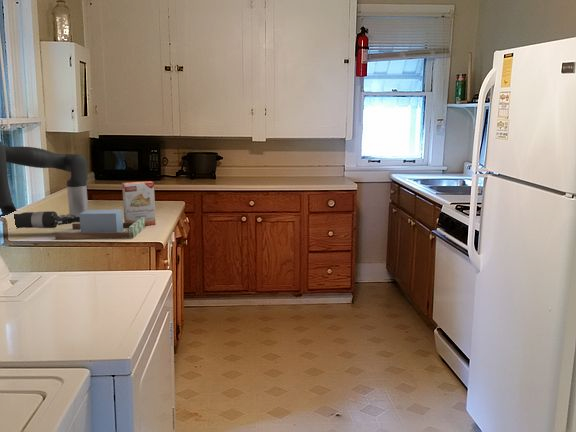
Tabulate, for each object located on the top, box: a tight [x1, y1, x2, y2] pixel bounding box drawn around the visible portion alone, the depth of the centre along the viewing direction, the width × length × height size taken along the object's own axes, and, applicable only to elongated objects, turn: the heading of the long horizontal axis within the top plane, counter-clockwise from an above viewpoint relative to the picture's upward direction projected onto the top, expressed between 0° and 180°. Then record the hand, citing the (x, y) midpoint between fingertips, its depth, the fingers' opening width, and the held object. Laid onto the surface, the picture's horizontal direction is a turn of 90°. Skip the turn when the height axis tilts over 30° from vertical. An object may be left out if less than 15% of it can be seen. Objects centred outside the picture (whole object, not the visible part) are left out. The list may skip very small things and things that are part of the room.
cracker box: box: [121, 180, 157, 227], centre depth 266 cm, size 14×6×21 cm, turn 117°
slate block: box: [79, 208, 124, 233], centre depth 251 cm, size 10×16×10 cm, turn 91°
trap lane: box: [54, 217, 146, 240], centre depth 251 cm, size 22×34×5 cm, turn 91°
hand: (83, 219), depth 250 cm, fingers closed
